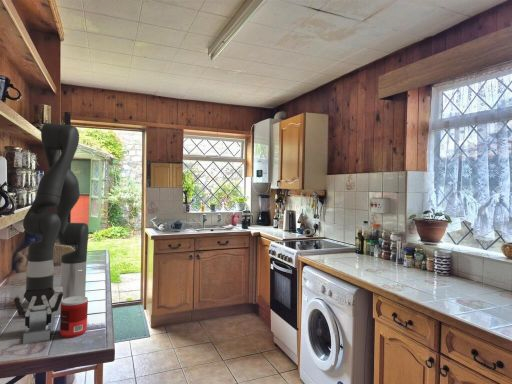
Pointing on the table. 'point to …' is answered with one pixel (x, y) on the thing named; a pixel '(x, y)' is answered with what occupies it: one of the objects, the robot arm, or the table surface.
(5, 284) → the table surface
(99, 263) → the table surface
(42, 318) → the block
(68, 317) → the canned food
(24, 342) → the rail channel
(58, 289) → the tea bag
